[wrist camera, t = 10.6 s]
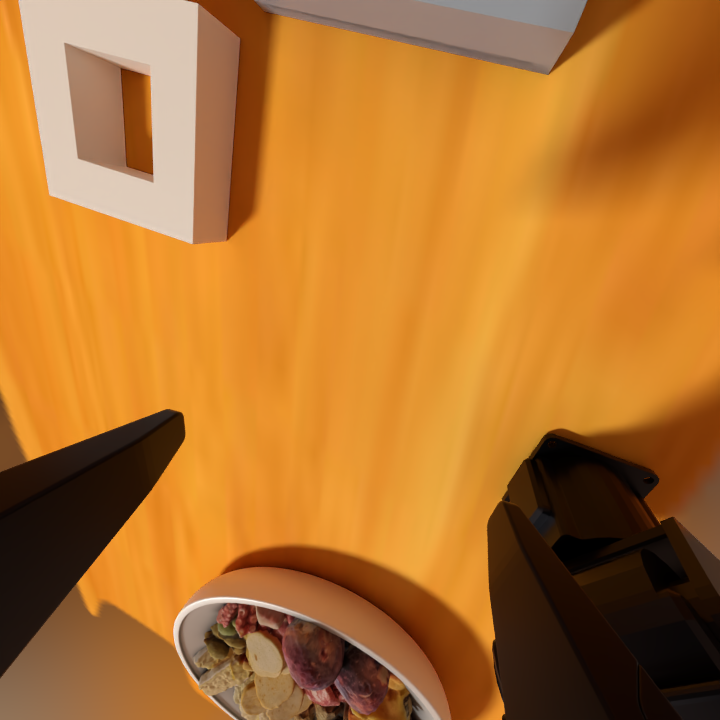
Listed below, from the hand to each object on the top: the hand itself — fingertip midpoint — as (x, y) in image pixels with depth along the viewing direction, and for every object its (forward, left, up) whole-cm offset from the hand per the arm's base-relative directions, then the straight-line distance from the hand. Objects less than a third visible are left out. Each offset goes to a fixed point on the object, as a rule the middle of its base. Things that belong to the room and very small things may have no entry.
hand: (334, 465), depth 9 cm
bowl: (-3, +39, -13) cm, 41 cm away
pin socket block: (+17, -7, -12) cm, 23 cm away
